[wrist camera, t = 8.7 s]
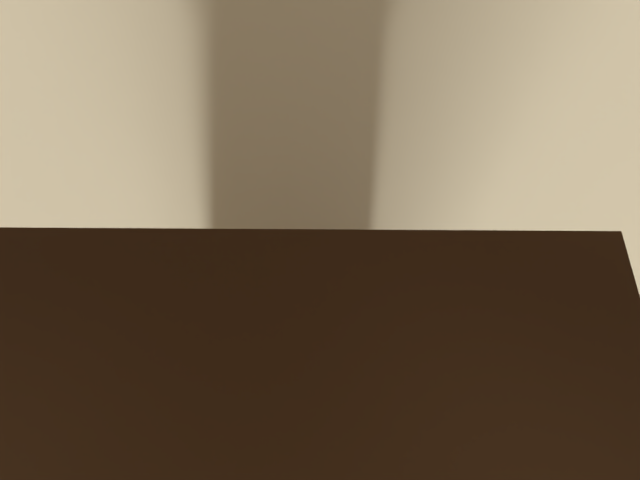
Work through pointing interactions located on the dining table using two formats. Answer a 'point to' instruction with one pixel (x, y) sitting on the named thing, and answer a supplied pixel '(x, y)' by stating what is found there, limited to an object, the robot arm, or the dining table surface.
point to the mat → (322, 115)
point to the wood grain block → (317, 355)
